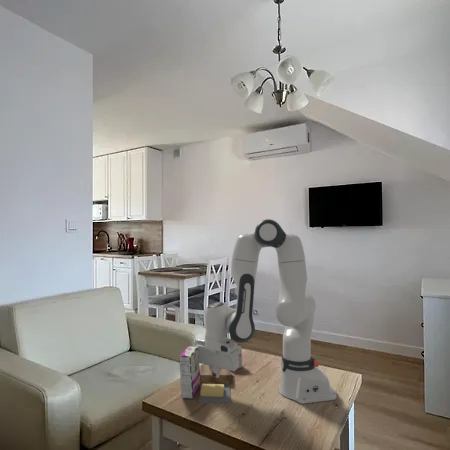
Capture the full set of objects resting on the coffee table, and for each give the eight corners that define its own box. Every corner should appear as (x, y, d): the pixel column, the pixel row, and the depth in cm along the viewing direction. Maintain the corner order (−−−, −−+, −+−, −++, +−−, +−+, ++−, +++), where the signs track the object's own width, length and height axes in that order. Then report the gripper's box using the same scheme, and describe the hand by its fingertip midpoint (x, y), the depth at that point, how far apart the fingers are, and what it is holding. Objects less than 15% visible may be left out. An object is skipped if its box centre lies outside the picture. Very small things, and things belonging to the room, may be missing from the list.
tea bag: (226, 366, 156) (226, 345, 156) (240, 365, 157) (240, 344, 157) (227, 369, 153) (227, 348, 153) (241, 368, 154) (242, 347, 154)
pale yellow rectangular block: (223, 391, 127) (223, 396, 127) (224, 384, 133) (223, 389, 133) (200, 390, 127) (200, 396, 127) (202, 383, 133) (202, 388, 133)
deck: (229, 373, 148) (229, 364, 148) (230, 384, 137) (230, 375, 137) (201, 373, 148) (201, 364, 148) (199, 384, 137) (199, 375, 137)
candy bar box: (189, 385, 136) (187, 345, 137) (201, 385, 135) (199, 346, 136) (180, 398, 125) (178, 355, 126) (193, 399, 124) (190, 356, 125)
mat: (229, 384, 137) (229, 384, 137) (230, 402, 123) (230, 402, 123) (200, 385, 137) (200, 384, 137) (199, 403, 122) (199, 402, 122)
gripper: (190, 340, 136) (190, 374, 136) (233, 349, 126) (233, 385, 126) (198, 336, 141) (198, 368, 141) (240, 344, 131) (240, 379, 131)
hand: (215, 376), depth 133 cm, fingers closed
